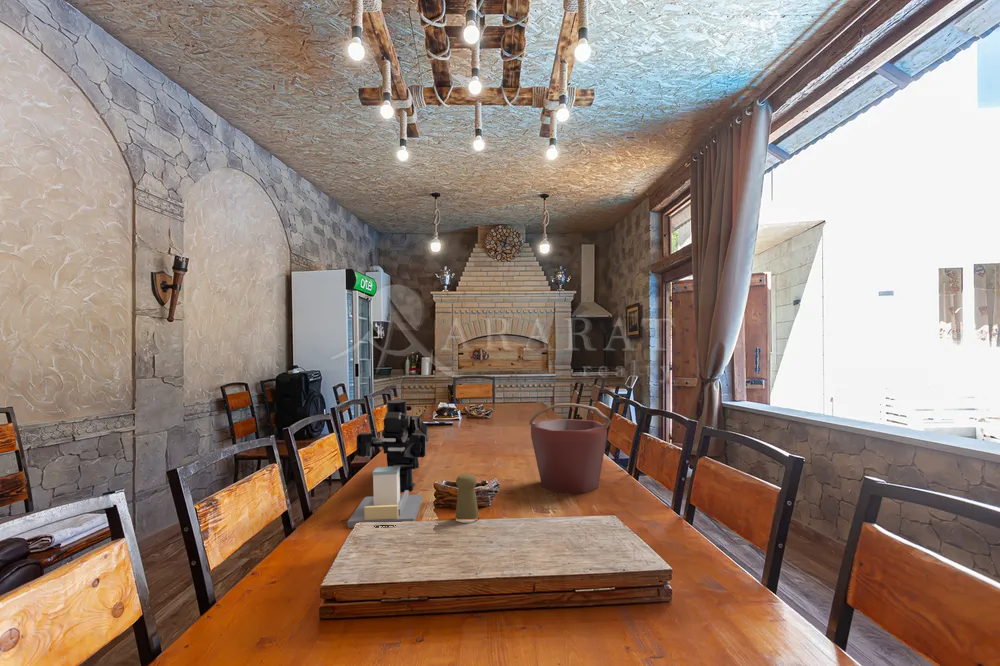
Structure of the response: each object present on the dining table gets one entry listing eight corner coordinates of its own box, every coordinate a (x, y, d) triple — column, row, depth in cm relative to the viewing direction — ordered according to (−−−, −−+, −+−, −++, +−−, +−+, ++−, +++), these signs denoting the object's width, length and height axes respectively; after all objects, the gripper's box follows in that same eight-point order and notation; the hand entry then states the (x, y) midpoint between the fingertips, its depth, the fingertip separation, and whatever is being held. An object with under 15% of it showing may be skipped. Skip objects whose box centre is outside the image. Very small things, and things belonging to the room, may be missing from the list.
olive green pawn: (475, 523, 118) (474, 478, 118) (452, 522, 119) (451, 477, 119) (481, 515, 124) (480, 472, 124) (459, 514, 125) (458, 471, 125)
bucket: (620, 482, 150) (618, 401, 151) (594, 502, 131) (591, 410, 132) (550, 472, 163) (547, 398, 164) (516, 490, 144) (514, 406, 145)
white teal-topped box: (377, 503, 129) (376, 467, 130) (400, 502, 130) (399, 466, 130) (373, 510, 124) (372, 472, 124) (397, 509, 124) (396, 471, 125)
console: (365, 501, 137) (365, 485, 137) (422, 499, 138) (421, 483, 138) (347, 527, 117) (347, 509, 118) (413, 524, 118) (413, 506, 118)
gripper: (364, 409, 139) (349, 422, 124) (428, 410, 140) (422, 424, 125) (363, 447, 140) (349, 465, 125) (428, 448, 141) (422, 466, 125)
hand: (385, 454), depth 125 cm, fingers open, 9 cm apart
